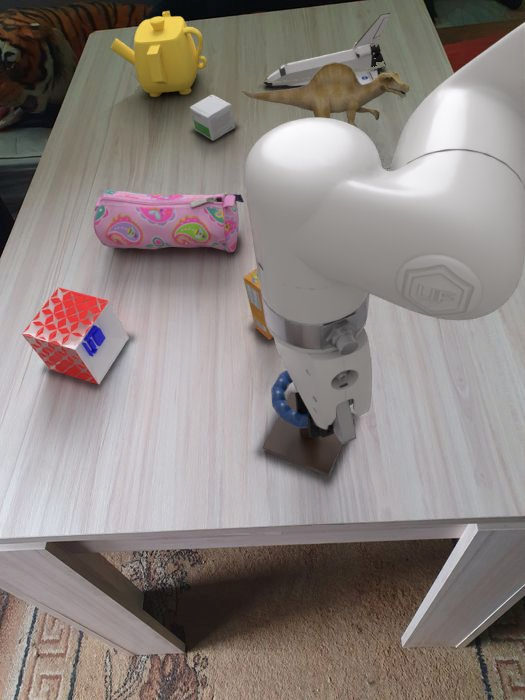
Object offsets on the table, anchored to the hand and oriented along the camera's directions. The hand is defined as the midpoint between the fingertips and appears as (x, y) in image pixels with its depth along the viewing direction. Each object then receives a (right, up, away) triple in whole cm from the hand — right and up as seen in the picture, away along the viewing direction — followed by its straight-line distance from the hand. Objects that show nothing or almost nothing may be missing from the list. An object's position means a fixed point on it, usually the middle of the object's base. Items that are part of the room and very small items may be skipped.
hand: (318, 419), depth 52 cm
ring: (-1, +2, +1) cm, 3 cm away
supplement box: (-4, +10, +18) cm, 21 cm away
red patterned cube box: (-29, +6, +19) cm, 35 cm away
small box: (-14, +49, +47) cm, 69 cm away
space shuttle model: (+7, +62, +54) cm, 83 cm away
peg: (0, -3, +9) cm, 9 cm away
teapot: (-26, +63, +59) cm, 90 cm away
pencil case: (-19, +24, +30) cm, 43 cm away
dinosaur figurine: (+6, +44, +42) cm, 61 cm away
